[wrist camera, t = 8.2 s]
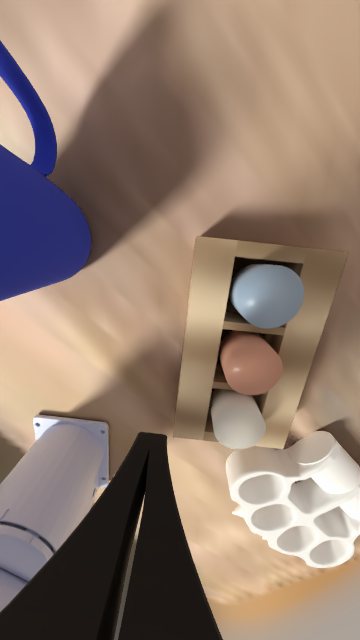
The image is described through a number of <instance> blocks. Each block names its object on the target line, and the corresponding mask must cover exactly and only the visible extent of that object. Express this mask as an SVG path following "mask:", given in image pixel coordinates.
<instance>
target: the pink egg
mask: <svg viewBox="0 0 360 640" xmlns="http://www.w3.org/2000/svg"><path fill="white" fill-rule="evenodd" d="M218 354H219V358H220V362H221V365H222V368H223V371H224V374H225V378H226V380H227V382H228V384H229V385H230V387H231V388H232V389H234V390H235V391H237V392H239V393H241V394H245V395H258V394H262V393H265V392H267V391H269V390H270V389H272V388H273V387H274V386H275V385H276V384H277V383H278V381H279V380H280V378H281V376H282V372H283V364H282V360H281V358H280V357H279V355H278V354H277V353H276V352H275V351H274V350H273V348H272V347H271V346H270V345H269V344H268V343H267V342H266V341H265V340H264V339H263V338H262V337H261V336H260V335H259V334H258V333H256V332H247V331H238V330H235V331H232V332H230V333H229V334H227V335H226V336H225V337H224V338H223V339H222V341H221V343H220V346H219V351H218Z"/></svg>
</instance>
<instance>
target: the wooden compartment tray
mask: <svg viewBox="0 0 360 640" xmlns="http://www.w3.org/2000/svg"><path fill="white" fill-rule="evenodd" d="M348 253H349V252H343V251H334V250H324V249H315V248H305V247H296V246H286V245H277V244H267V243H258V242H248V241H239V240H229V239H220V238H210V237H201V236H197V237H196V239H195V247H194V256H193V264H192V273H191V282H190V290H189V299H188V308H187V316H186V325H185V334H184V342H183V351H182V360H181V368H180V377H179V386H178V394H177V403H176V412H175V423H174V436H173V437H178V438H187V439H196V440H205V441H213V442H219V441H218V440H217V439H216V437H215V435H214V429H213V422H212V416H211V409H209V403H210V397H211V391H212V388H218V389H227V390H234V389H232V388H231V387H230V385H229V384H228V382H227V380H226V378H225V374H224V371H223V368H222V365H221V364H216V363H217V357H218V351H219V346H220V340H221V334H222V329H229V330H238V331H247V332H256V333H266V335H265V339H264V340H265V341H266V342H267V343H268V344H269V345H270V346H271V347H272V348H273V350H274V351H275V352H276V353H277V354H278V355H279V357H280V358H281V360H282V364H283V372H282V376H281V378H280V380H279V381H278V383H277V384H276V385H275V386H274V387H273V388H272V389H270V390H269V391H267V392H265V393H262V394H258V395H252V396H253V398H254V400H255V402H256V404H257V406H258V408H259V411H260V413H261V415H262V417H263V419H264V421H265V424H266V431H265V434H264V436H263V438H262V439H261V440H260V441H259V442H258V443H257V444H255V445H254V446H258V447H267V448H276V449H283V448H284V445H285V442H286V439H287V436H288V433H289V430H290V427H291V424H292V421H293V418H294V415H295V412H296V409H297V406H298V403H299V400H300V397H301V394H302V391H303V388H304V385H305V382H306V379H307V376H308V373H309V370H310V367H311V364H312V361H313V358H314V355H315V352H316V349H317V346H318V343H319V340H320V337H321V334H322V331H323V328H324V325H325V322H326V319H327V316H328V313H329V310H330V307H331V304H332V301H333V298H334V295H335V292H336V289H337V286H338V283H339V280H340V277H341V274H342V271H343V268H344V265H345V262H346V259H347V256H348ZM235 257H236V258H245V259H255V260H264V261H274V262H283V266H284V267H287V268H289V269H291V270H293V271H294V272H295V273H296V274H297V275H298V276H299V277H300V279H301V281H302V283H303V287H304V299H303V303H302V306H301V308H300V310H299V311H298V313H297V314H296V315H295V316H294V317H293V318H292V319H291V320H290V321H289V322H287V323H286V324H284V325H282V326H279V327H276V328H269V329H267V328H259V327H256V326H254V325H252V324H250V323H249V322H248V321H247V320H246V319H245V318H244V317H243V316H242V315H241V314H240V313H232V312H225V311H226V305H227V300H228V294H229V288H230V282H231V277H232V271H233V265H234V259H235Z"/></svg>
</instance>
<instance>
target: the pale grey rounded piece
mask: <svg viewBox="0 0 360 640" xmlns="http://www.w3.org/2000/svg"><path fill="white" fill-rule="evenodd" d="M210 409H211V416H212V422H213V429H214V435H215V437H216V439H217V440H218V441H219V442H220V443H221V444H222V445H224V446H226V447H228V448H232V449H245V448H249V447H252V446H254V445H255V444H257V443H258V442H259V441H260V440H261V439H262V438H263V436H264V434H265V431H266V424H265V421H264V419H263V417H262V415H261V413H260V411H259V408H258V406H257V404H256V402H255V400H254V398H253V396H252V395H245V394H241V393H239V392H237V391H235V390H227V389H218V388H216V389H215V390H214V391H213V393H212V394H211V397H210Z"/></svg>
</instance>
